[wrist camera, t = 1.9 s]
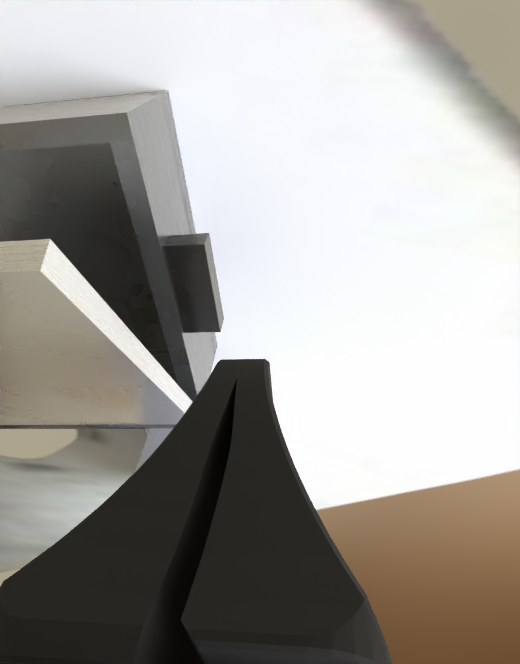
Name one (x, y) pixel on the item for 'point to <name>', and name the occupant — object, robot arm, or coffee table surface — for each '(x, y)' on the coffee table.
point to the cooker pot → (117, 217)
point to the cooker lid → (72, 352)
